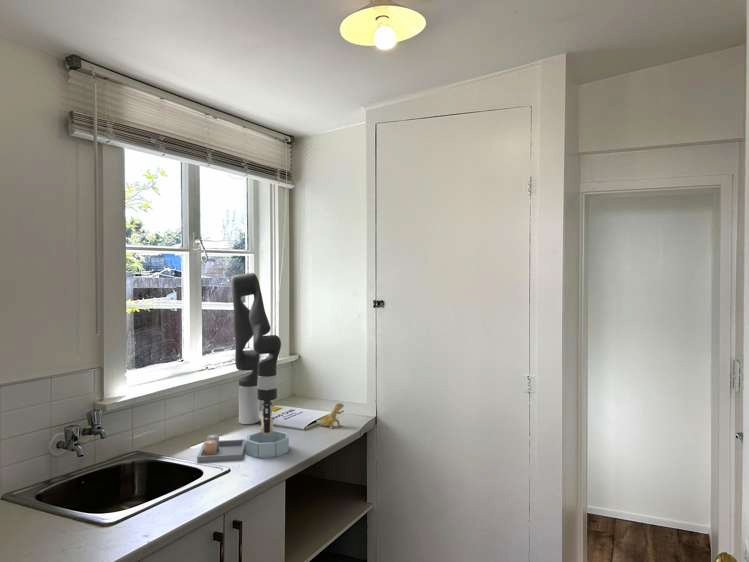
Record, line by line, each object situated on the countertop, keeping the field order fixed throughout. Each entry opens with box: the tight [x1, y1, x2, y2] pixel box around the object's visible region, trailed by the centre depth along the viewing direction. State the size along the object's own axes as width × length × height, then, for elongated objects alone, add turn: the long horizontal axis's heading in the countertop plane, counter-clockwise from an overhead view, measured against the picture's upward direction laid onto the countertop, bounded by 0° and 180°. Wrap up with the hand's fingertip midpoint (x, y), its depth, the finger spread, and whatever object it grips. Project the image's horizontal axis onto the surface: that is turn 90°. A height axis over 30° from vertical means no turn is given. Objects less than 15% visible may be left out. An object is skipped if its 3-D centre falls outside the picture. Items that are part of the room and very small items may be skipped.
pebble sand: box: [260, 417, 274, 435], centre depth 206 cm, size 4×4×6 cm
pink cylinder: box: [206, 434, 220, 451], centre depth 206 cm, size 4×4×6 cm
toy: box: [316, 402, 345, 430], centre depth 238 cm, size 7×15×10 cm, turn 75°
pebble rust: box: [203, 440, 217, 456], centre depth 199 cm, size 4×4×6 cm
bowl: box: [245, 429, 290, 459], centre depth 206 cm, size 16×16×6 cm
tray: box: [196, 438, 247, 463], centre depth 203 cm, size 18×16×2 cm
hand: (267, 430), depth 205 cm, fingers closed on pebble sand, 4 cm apart
